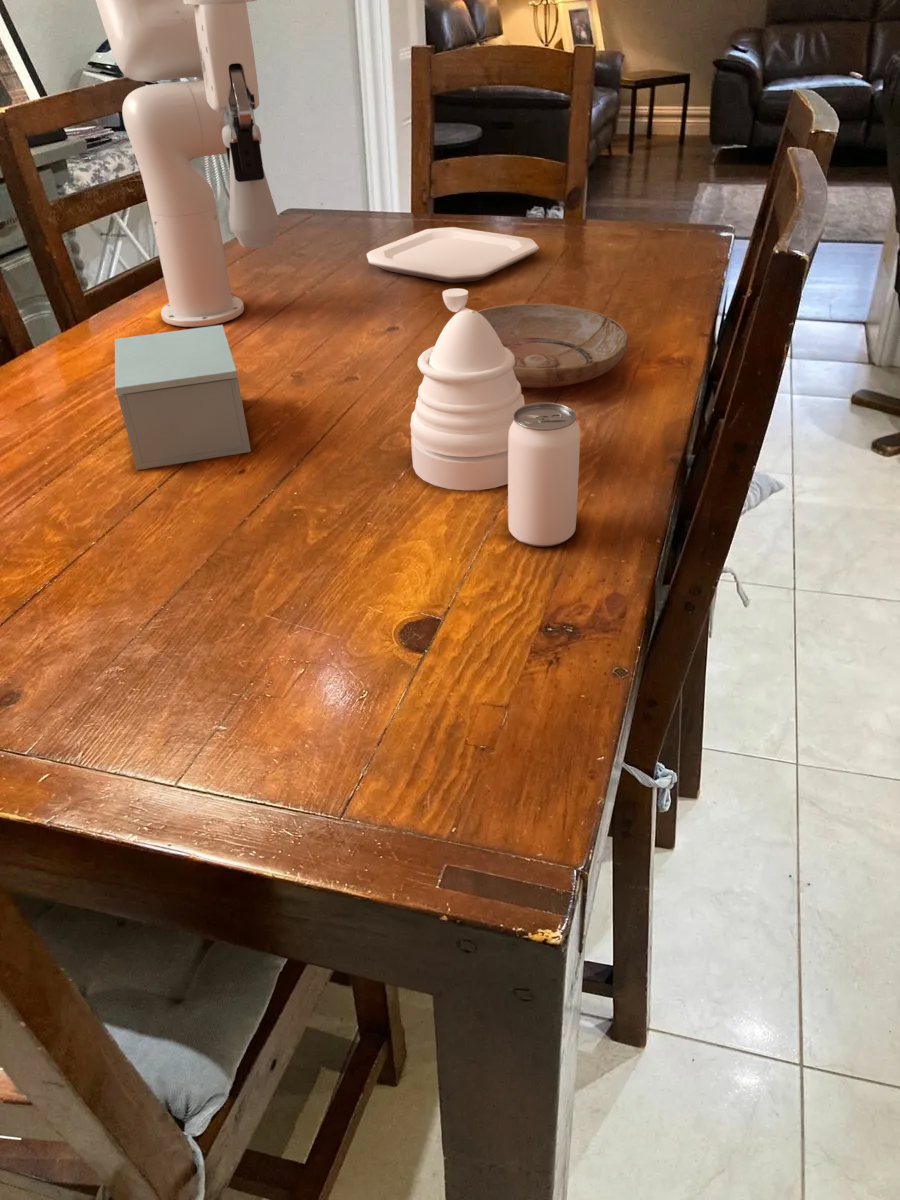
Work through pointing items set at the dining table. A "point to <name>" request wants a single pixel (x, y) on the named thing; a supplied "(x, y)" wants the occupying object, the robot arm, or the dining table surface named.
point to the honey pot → (464, 403)
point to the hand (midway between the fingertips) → (246, 174)
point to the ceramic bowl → (557, 342)
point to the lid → (172, 359)
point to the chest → (185, 423)
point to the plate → (452, 254)
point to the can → (543, 474)
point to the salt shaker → (251, 206)
